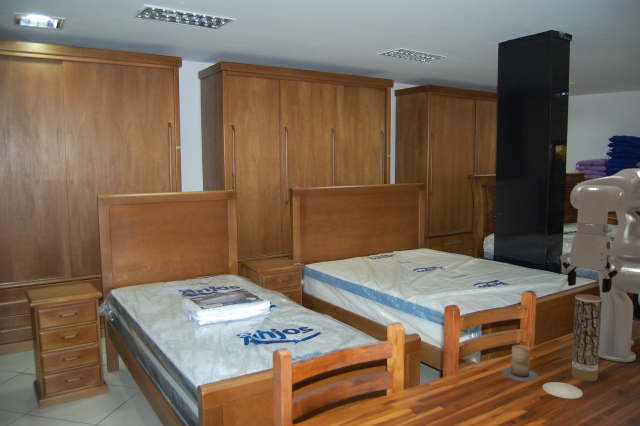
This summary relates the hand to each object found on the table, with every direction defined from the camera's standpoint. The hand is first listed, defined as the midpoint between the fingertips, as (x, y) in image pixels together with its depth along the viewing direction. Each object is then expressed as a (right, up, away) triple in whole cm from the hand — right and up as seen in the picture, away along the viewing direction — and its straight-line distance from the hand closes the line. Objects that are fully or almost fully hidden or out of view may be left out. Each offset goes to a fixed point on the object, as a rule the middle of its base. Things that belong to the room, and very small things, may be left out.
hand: (588, 288), depth 145 cm
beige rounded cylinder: (-18, -26, +5) cm, 32 cm away
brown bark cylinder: (0, -28, +3) cm, 28 cm away
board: (-14, -28, -1) cm, 31 cm away
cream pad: (-10, -28, -6) cm, 31 cm away
